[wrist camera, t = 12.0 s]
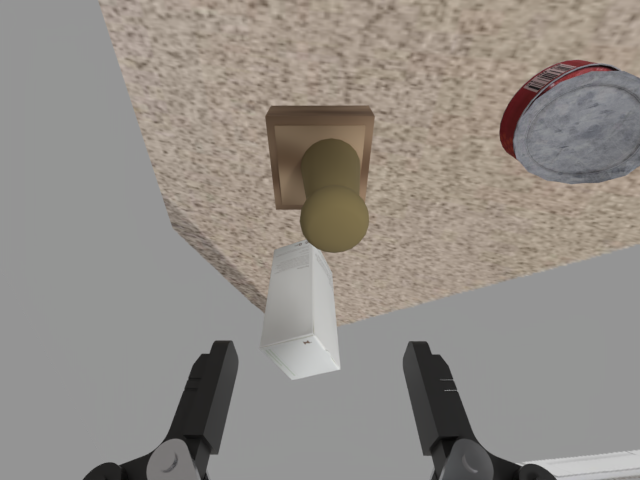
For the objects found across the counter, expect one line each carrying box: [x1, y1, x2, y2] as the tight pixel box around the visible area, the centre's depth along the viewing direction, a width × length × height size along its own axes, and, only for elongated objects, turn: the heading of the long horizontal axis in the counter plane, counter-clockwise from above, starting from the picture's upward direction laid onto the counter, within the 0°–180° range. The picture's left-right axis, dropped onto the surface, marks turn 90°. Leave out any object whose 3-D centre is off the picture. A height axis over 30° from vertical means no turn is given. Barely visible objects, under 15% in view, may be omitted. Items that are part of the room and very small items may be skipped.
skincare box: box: [259, 240, 340, 380], centre depth 36 cm, size 8×7×16 cm
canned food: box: [499, 60, 640, 184], centre depth 27 cm, size 11×10×10 cm
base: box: [265, 105, 375, 210], centre depth 30 cm, size 10×10×4 cm
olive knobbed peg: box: [300, 138, 369, 253], centre depth 24 cm, size 6×6×11 cm
